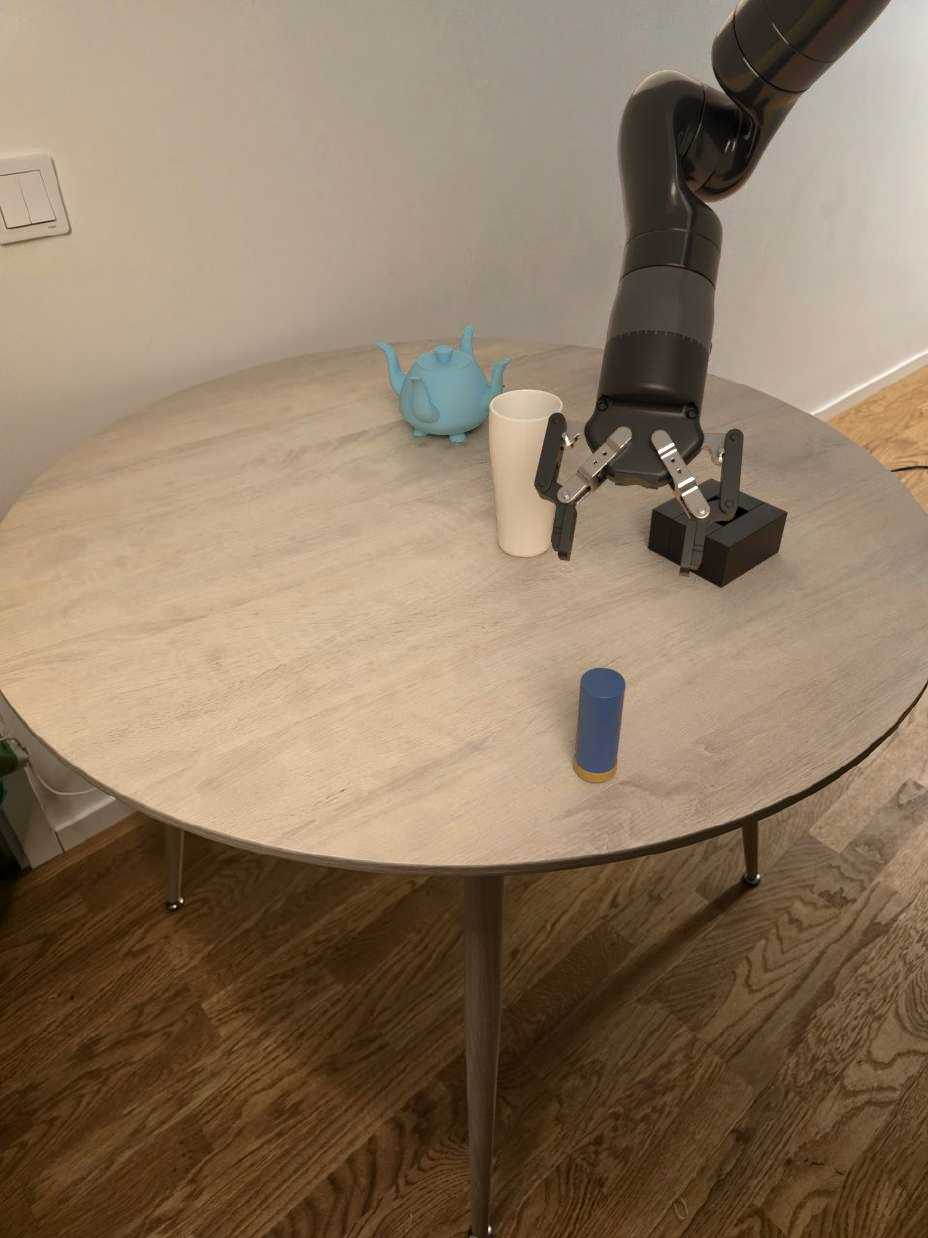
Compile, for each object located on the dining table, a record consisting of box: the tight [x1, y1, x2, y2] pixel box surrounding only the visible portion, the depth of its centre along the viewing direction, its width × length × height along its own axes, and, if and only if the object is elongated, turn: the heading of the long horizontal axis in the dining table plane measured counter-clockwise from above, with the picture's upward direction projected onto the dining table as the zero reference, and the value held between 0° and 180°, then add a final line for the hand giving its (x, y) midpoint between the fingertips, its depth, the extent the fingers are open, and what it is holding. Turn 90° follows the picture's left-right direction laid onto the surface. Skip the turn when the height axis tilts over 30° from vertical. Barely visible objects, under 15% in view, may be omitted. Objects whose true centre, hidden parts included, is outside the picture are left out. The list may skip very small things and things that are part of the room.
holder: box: [647, 478, 789, 589], centre depth 83 cm, size 9×9×4 cm
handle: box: [573, 667, 626, 784], centre depth 60 cm, size 3×3×8 cm
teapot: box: [375, 324, 514, 443], centre depth 104 cm, size 13×13×10 cm
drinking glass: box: [488, 389, 565, 558], centre depth 81 cm, size 7×7×15 cm
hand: (623, 566), depth 61 cm, fingers open, 8 cm apart
